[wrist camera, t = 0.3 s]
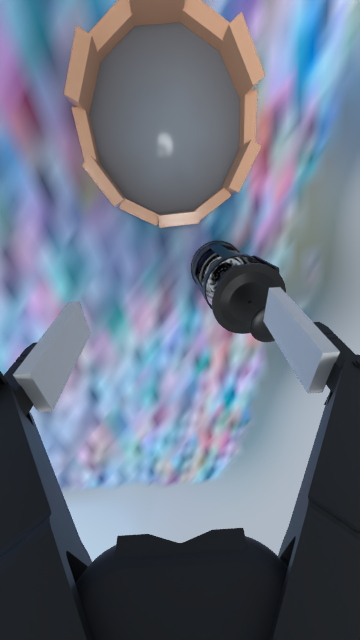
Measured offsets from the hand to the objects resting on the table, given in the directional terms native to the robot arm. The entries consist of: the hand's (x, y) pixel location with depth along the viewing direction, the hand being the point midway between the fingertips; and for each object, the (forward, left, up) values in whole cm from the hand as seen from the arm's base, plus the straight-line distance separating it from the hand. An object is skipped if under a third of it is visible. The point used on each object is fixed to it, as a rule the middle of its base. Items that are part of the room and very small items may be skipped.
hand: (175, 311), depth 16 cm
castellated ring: (-16, +3, -26) cm, 31 cm away
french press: (+4, +10, -27) cm, 29 cm away
